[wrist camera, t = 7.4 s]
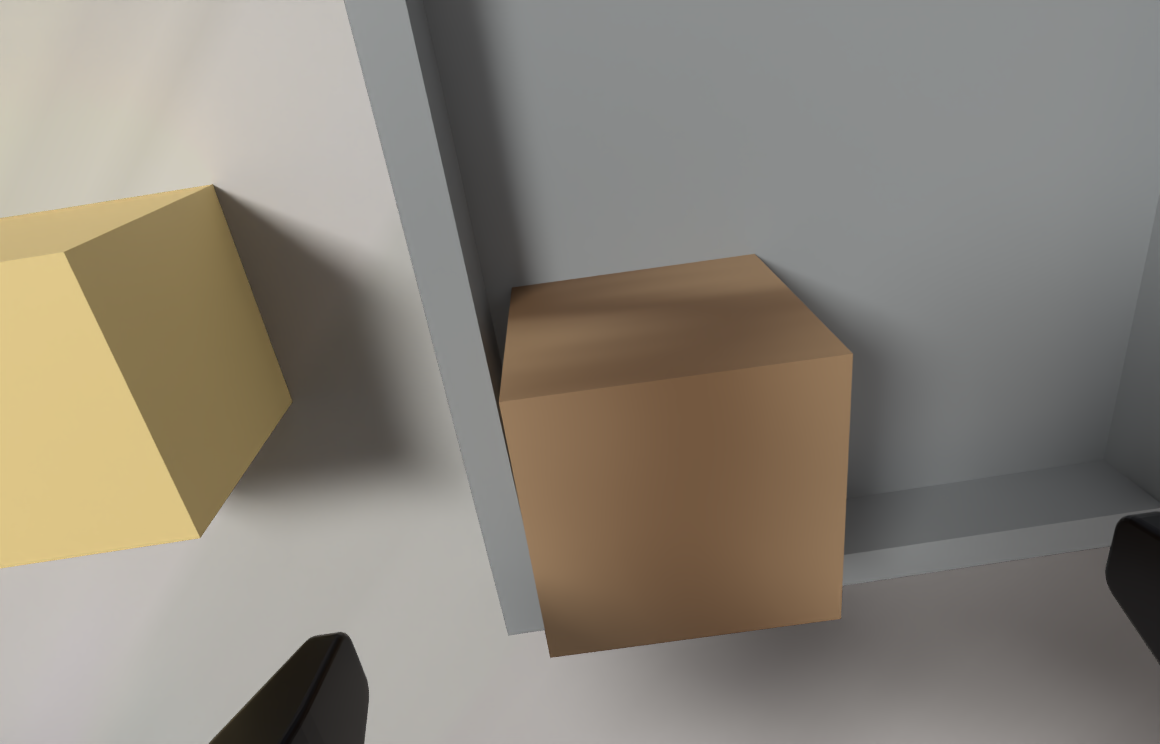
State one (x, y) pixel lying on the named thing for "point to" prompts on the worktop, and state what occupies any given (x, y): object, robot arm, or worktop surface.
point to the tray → (814, 230)
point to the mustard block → (126, 375)
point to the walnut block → (677, 453)
